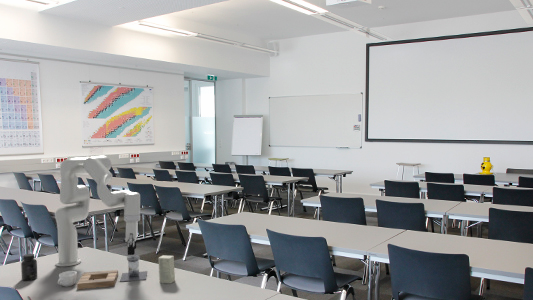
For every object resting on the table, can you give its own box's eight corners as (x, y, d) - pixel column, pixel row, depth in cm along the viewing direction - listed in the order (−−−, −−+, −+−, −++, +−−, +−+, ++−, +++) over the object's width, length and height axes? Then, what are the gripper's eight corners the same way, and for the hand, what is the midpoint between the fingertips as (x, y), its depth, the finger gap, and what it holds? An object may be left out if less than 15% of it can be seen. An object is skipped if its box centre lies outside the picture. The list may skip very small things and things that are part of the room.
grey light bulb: (128, 274, 213) (127, 255, 212) (140, 273, 214) (140, 255, 214) (126, 278, 207) (126, 259, 207) (139, 277, 208) (139, 258, 208)
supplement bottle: (19, 279, 209) (18, 255, 209) (34, 275, 214) (33, 252, 214) (24, 282, 205) (23, 257, 204) (39, 278, 210) (38, 254, 209)
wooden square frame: (84, 277, 210) (83, 272, 210) (118, 274, 214) (118, 269, 214) (77, 289, 195) (77, 283, 195) (114, 286, 198) (113, 280, 198)
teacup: (67, 281, 206) (67, 270, 206) (80, 282, 203) (80, 271, 203) (51, 288, 196) (51, 277, 196) (64, 290, 194) (64, 278, 194)
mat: (122, 273, 215) (122, 273, 215) (147, 271, 218) (147, 271, 218) (119, 282, 204) (119, 281, 204) (145, 279, 206) (145, 279, 206)
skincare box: (175, 280, 205) (174, 255, 204) (170, 283, 201) (170, 258, 200) (163, 279, 207) (162, 254, 206) (158, 282, 202) (158, 257, 202)
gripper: (125, 213, 217) (125, 246, 218) (122, 221, 200) (122, 257, 201) (141, 213, 219) (141, 246, 220) (138, 221, 202) (138, 256, 203)
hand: (131, 251), depth 211 cm, fingers open, 9 cm apart
